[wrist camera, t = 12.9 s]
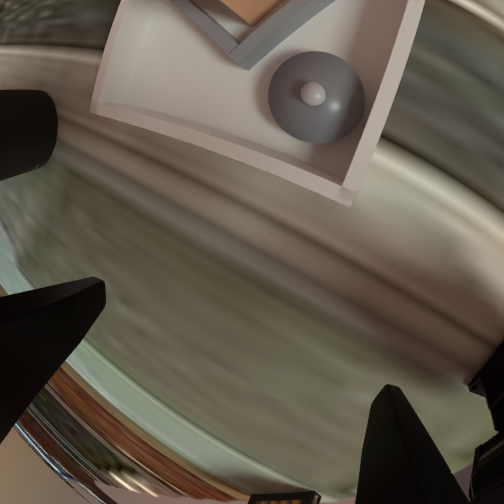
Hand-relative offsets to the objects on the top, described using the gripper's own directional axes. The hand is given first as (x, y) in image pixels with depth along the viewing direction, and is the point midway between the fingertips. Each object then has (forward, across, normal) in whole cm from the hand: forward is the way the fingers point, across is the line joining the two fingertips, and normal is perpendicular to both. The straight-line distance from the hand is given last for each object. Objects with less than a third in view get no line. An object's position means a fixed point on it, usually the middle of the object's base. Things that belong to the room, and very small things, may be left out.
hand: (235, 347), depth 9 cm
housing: (+14, +5, -12) cm, 19 cm away
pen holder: (+16, +28, -1) cm, 32 cm away
